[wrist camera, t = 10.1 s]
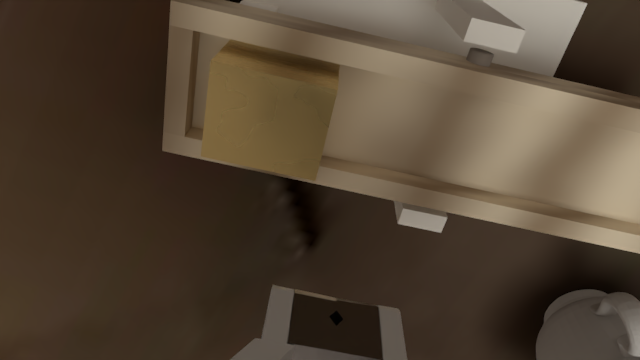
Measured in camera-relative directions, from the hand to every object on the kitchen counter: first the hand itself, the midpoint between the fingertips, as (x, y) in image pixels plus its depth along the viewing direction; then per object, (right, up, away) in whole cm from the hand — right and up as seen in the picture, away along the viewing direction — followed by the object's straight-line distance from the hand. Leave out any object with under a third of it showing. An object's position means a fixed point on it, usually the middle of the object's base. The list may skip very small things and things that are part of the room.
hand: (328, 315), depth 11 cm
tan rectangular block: (-2, +7, +11) cm, 14 cm away
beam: (+6, +7, +15) cm, 18 cm away
